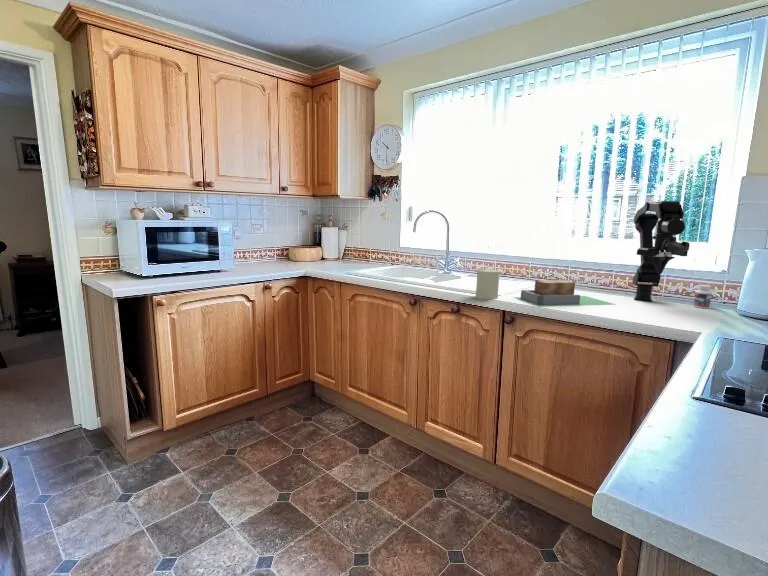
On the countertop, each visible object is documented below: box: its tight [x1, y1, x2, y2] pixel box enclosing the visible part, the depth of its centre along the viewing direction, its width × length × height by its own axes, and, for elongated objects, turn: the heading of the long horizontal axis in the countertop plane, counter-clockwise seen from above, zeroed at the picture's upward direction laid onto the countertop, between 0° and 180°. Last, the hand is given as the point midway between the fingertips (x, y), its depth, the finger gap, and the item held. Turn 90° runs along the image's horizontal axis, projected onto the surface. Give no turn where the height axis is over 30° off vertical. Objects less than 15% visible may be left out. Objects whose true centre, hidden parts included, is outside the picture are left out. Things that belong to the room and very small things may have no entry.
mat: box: [512, 295, 617, 308], centre depth 173 cm, size 35×18×1 cm, turn 104°
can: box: [475, 268, 501, 301], centre depth 176 cm, size 9×9×12 cm
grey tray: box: [520, 289, 581, 305], centre depth 171 cm, size 18×13×4 cm
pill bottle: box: [692, 284, 712, 309], centre depth 169 cm, size 5×5×9 cm
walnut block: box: [533, 279, 576, 295], centre depth 171 cm, size 14×6×8 cm, turn 104°
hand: (659, 274), depth 167 cm, fingers closed
